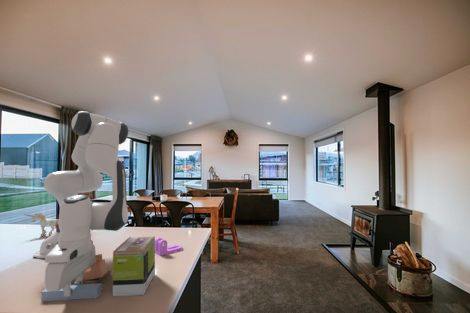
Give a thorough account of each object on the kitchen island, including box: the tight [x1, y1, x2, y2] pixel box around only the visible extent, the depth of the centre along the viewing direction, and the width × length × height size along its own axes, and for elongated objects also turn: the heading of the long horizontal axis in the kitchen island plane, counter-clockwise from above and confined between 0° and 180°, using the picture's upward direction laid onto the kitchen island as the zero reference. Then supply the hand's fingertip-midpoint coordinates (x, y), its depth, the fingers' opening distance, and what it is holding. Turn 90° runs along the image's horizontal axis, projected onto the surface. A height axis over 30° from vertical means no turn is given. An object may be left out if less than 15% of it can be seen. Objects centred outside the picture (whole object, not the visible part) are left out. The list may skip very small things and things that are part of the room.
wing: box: [41, 283, 103, 302], centre depth 76 cm, size 16×4×3 cm, turn 98°
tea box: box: [112, 236, 156, 297], centre depth 84 cm, size 15×10×15 cm, turn 5°
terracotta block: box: [73, 253, 108, 281], centre depth 86 cm, size 12×4×8 cm, turn 94°
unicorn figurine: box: [24, 212, 59, 237], centre depth 142 cm, size 7×20×13 cm, turn 100°
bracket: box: [155, 237, 183, 257], centre depth 117 cm, size 13×6×7 cm, turn 133°
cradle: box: [71, 270, 112, 285], centre depth 86 cm, size 15×8×2 cm, turn 93°
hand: (73, 291), depth 76 cm, fingers closed on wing, 4 cm apart
